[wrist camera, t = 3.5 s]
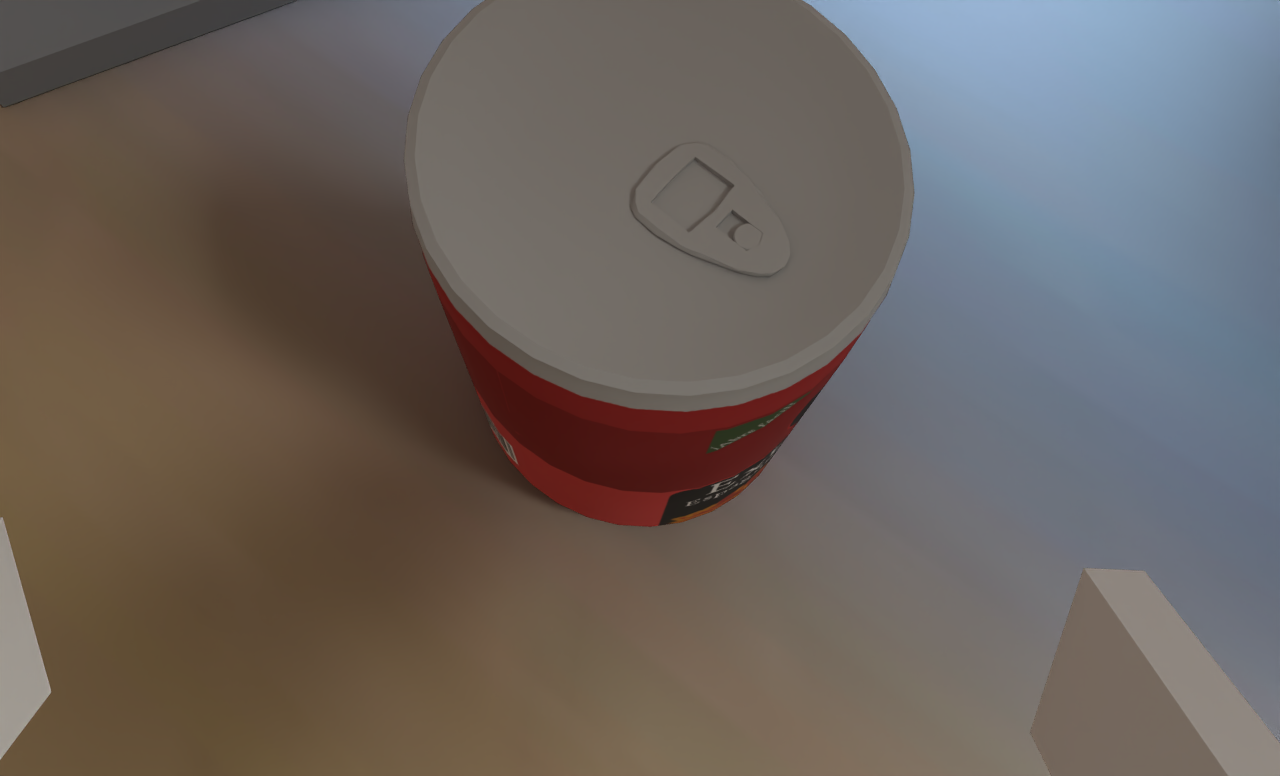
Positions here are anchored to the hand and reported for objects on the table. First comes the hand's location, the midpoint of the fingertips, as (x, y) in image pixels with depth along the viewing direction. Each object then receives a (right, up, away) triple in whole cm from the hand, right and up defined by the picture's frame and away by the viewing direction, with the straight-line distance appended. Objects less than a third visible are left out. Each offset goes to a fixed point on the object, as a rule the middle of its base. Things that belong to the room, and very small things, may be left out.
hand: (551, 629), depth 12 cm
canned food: (+1, +3, +13) cm, 13 cm away
